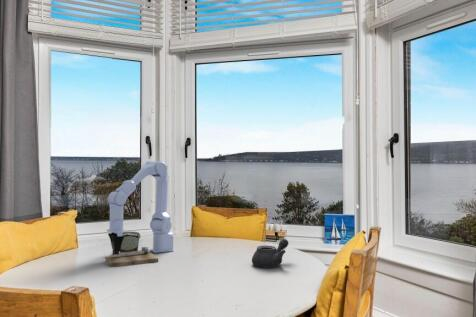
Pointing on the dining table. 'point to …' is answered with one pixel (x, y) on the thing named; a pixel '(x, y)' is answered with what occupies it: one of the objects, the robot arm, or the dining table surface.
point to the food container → (130, 241)
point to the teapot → (269, 255)
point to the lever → (118, 254)
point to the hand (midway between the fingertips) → (116, 250)
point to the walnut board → (131, 259)
